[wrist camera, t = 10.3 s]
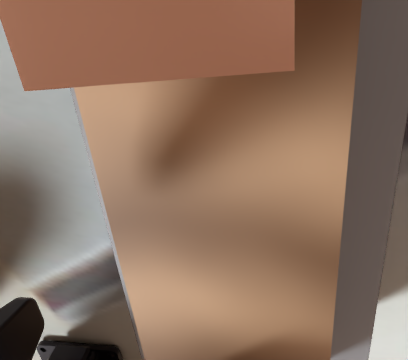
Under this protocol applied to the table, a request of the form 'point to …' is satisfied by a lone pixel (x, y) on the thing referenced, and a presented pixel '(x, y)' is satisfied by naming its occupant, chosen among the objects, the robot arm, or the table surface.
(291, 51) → the block
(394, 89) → the dock
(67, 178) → the table surface
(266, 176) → the pallet
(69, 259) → the table surface
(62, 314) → the table surface
